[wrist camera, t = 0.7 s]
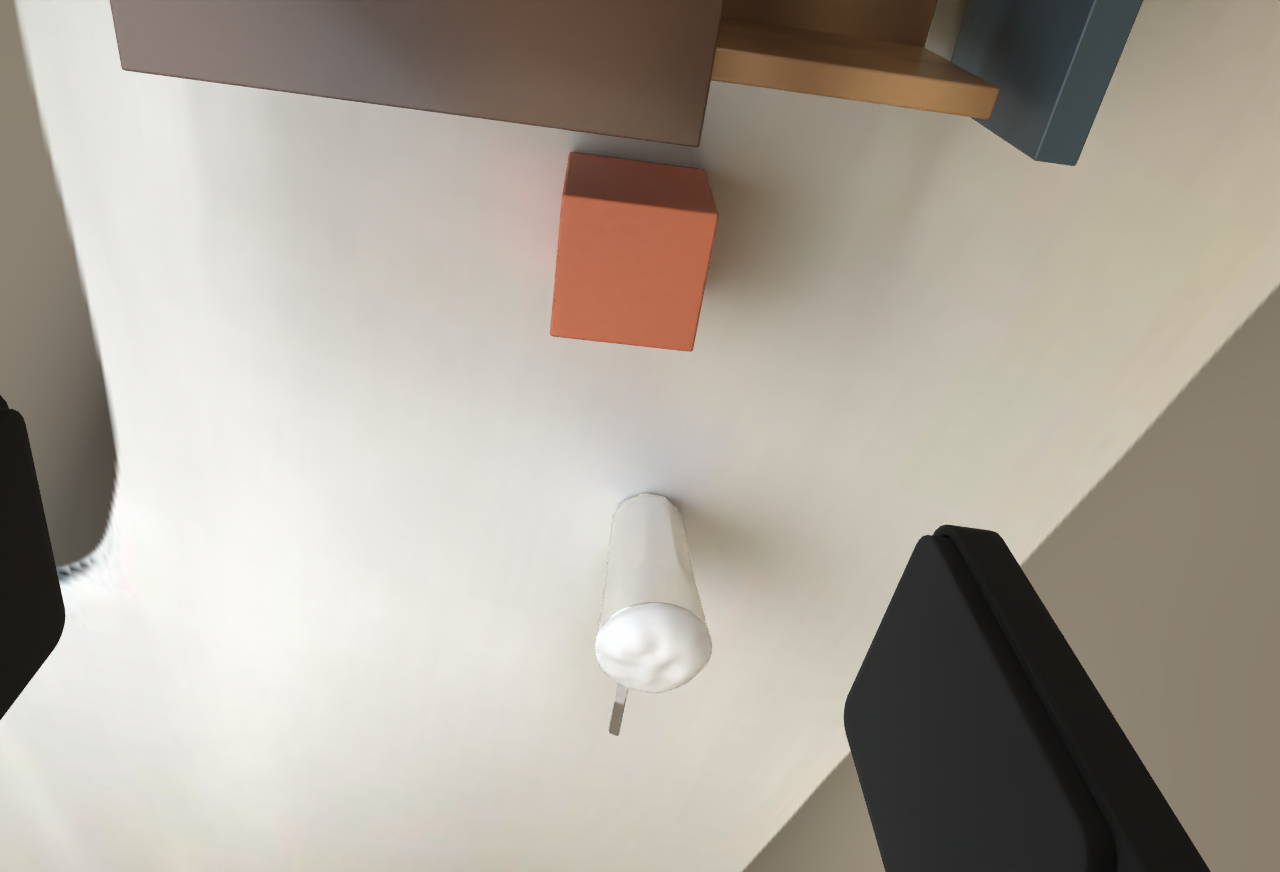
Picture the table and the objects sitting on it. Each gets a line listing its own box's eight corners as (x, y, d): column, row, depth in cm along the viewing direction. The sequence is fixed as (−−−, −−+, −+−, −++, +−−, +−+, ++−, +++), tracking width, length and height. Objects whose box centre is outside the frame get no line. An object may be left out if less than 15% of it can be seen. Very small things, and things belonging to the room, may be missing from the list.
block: (705, 169, 31) (719, 213, 27) (683, 294, 34) (692, 352, 30) (569, 151, 31) (562, 194, 27) (557, 279, 34) (549, 336, 29)
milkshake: (572, 544, 41) (561, 715, 33) (630, 465, 39) (636, 628, 30) (652, 580, 42) (661, 753, 34) (713, 506, 40) (740, 673, 32)
